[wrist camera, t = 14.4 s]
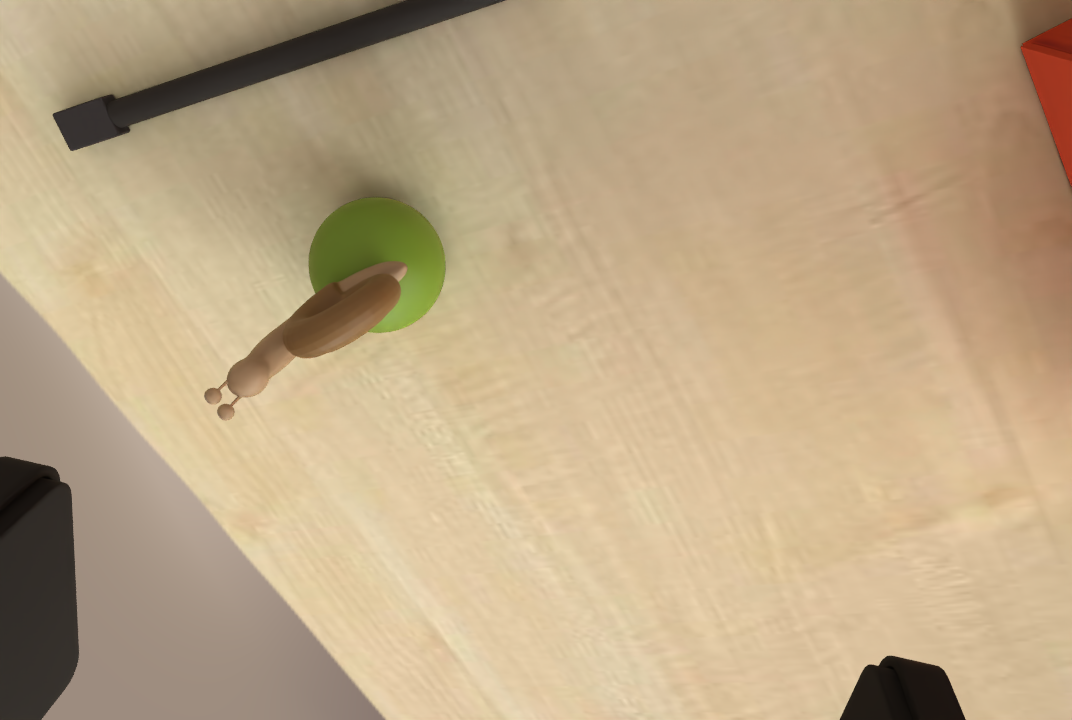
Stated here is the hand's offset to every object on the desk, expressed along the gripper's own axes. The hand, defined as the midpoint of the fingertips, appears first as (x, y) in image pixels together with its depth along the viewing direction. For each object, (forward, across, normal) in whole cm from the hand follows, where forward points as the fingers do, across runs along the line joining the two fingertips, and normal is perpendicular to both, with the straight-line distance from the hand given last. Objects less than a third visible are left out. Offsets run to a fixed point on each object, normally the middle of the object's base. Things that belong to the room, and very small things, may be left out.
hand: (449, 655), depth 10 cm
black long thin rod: (+28, +12, -1) cm, 31 cm away
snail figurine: (+28, +8, +6) cm, 30 cm away
